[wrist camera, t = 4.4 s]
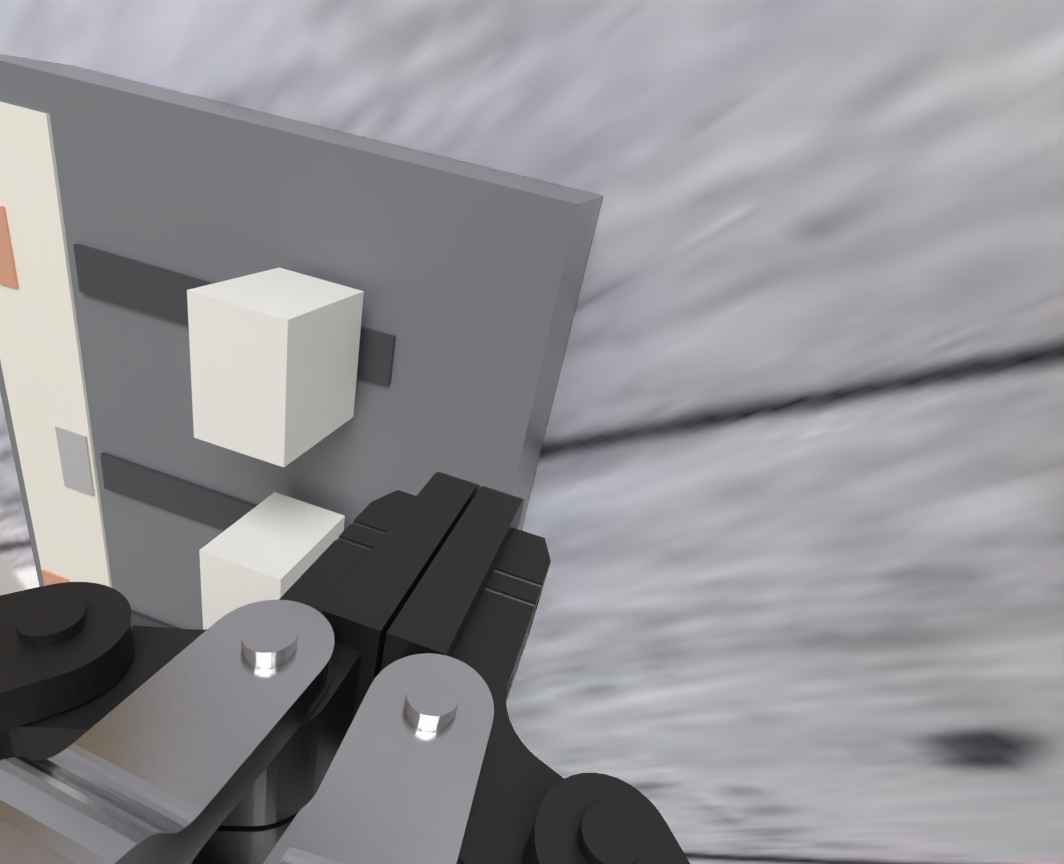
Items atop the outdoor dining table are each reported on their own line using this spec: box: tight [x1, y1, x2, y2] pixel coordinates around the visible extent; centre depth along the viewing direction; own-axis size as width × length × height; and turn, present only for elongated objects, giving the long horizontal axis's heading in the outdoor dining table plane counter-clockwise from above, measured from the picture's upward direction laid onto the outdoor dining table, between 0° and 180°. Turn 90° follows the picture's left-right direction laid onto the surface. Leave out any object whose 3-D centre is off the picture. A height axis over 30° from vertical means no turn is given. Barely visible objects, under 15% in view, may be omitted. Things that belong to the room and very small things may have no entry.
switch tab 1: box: [187, 267, 364, 467], centre depth 15 cm, size 2×4×3 cm, turn 167°
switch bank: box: [0, 54, 603, 630], centre depth 22 cm, size 18×24×4 cm
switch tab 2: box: [199, 492, 345, 630], centre depth 18 cm, size 2×4×3 cm, turn 167°
